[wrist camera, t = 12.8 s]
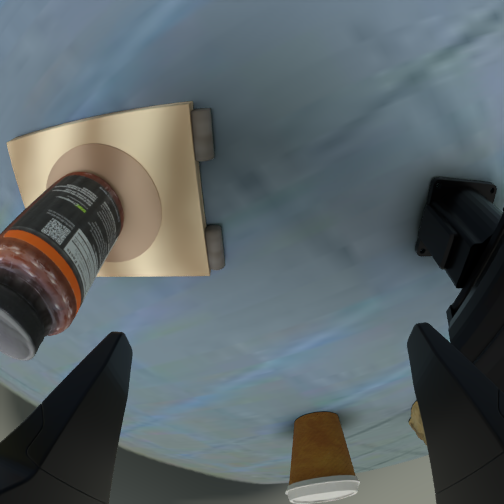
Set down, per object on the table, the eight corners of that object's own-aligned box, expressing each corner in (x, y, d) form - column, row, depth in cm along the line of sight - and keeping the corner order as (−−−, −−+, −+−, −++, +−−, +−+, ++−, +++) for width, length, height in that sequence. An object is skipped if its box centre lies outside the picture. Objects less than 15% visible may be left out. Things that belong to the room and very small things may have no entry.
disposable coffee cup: (270, 428, 41) (271, 503, 31) (308, 401, 36) (316, 490, 26) (322, 435, 43) (329, 503, 33) (363, 410, 38) (376, 487, 28)
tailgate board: (211, 99, 17) (207, 102, 16) (226, 265, 24) (224, 277, 23) (15, 137, 17) (4, 143, 16) (58, 267, 24) (51, 277, 23)
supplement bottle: (58, 238, 21) (-20, 353, 12) (50, 164, 17) (-64, 267, 8) (128, 251, 21) (65, 387, 12) (127, 172, 18) (27, 300, 9)
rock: (427, 431, 42) (469, 410, 36) (412, 468, 36) (459, 450, 30) (390, 399, 45) (431, 374, 39) (372, 435, 39) (417, 413, 33)
